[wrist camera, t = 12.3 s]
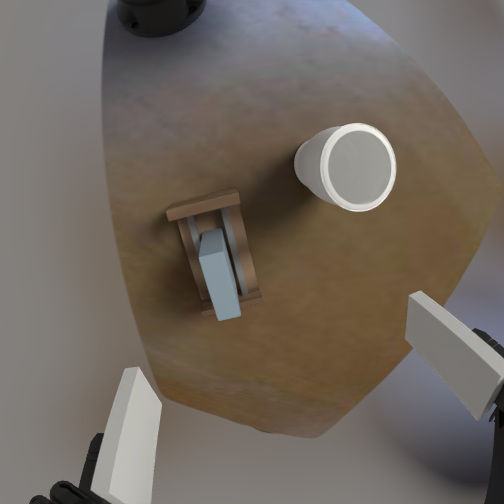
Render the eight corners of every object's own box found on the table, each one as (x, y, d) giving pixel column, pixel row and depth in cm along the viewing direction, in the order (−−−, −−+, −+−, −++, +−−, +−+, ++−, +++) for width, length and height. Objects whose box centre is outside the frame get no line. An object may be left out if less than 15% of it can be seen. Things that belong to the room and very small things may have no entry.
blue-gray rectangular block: (202, 231, 44) (198, 257, 33) (221, 227, 44) (223, 251, 33) (217, 282, 47) (218, 321, 36) (234, 278, 47) (241, 315, 36)
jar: (303, 121, 41) (342, 106, 27) (355, 151, 44) (408, 152, 29) (276, 178, 44) (304, 188, 30) (330, 205, 46) (375, 226, 32)
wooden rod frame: (173, 203, 43) (165, 211, 36) (234, 187, 43) (238, 192, 37) (203, 302, 49) (202, 323, 42) (258, 289, 49) (265, 308, 43)
